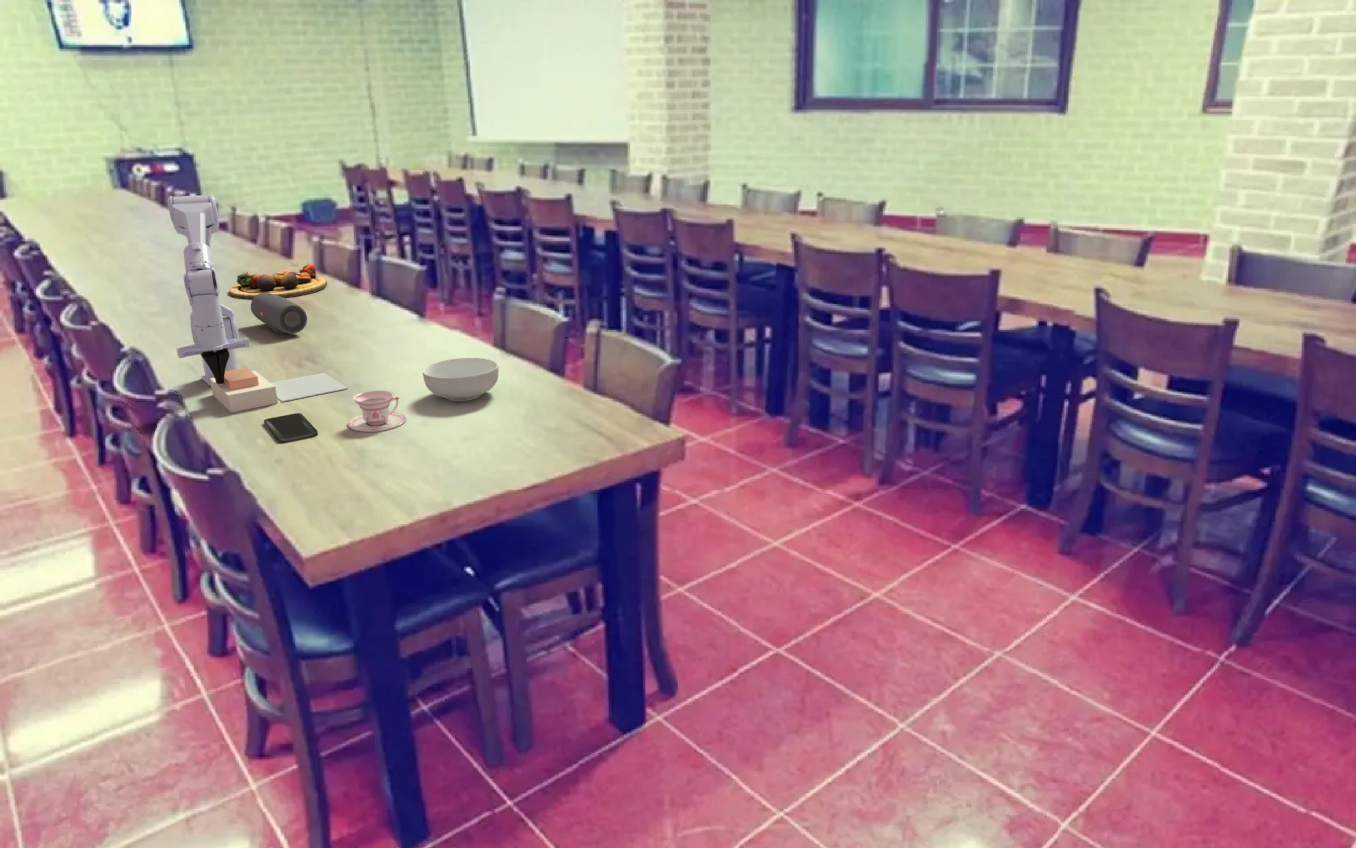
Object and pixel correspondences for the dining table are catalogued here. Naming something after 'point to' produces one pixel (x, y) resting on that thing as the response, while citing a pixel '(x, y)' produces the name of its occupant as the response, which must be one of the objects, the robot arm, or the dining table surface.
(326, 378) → the mat
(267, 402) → the cream rectangular block
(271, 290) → the wooden plate with food
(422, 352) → the dining table surface
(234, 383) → the terracotta tile
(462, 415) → the dining table surface
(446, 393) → the cereal bowl
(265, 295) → the bluetooth speaker
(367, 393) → the teacup
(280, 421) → the phone
